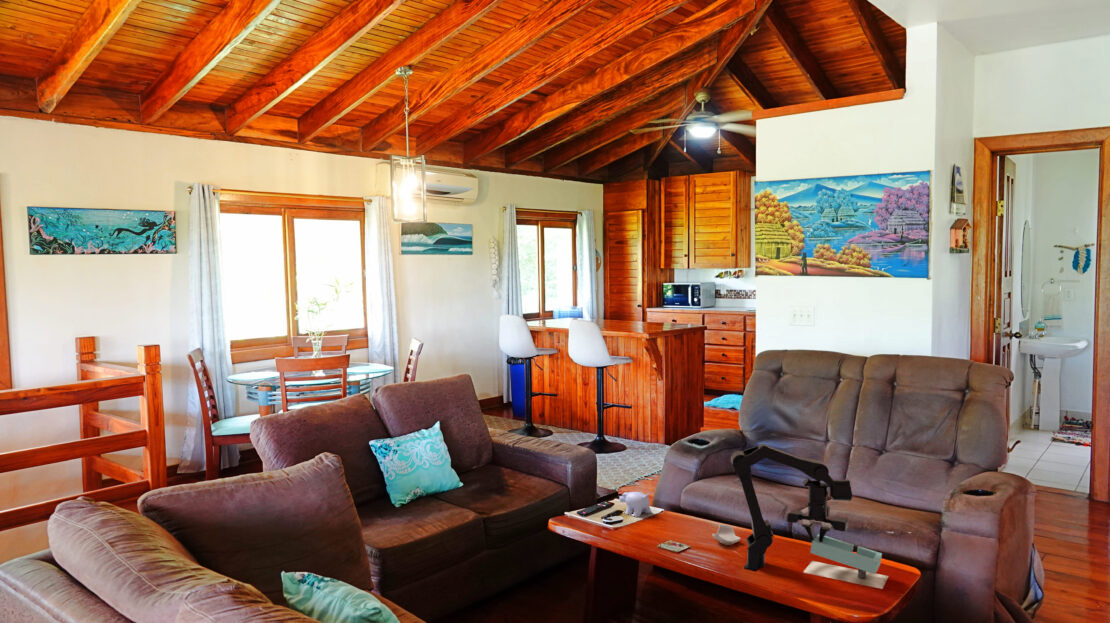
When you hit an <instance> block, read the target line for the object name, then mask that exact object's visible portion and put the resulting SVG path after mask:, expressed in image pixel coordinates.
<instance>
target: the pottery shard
mask: <svg viewBox="0 0 1110 623" xmlns="http://www.w3.org/2000/svg"><path fill="white" fill-rule="evenodd" d="M735 533H736V532H735V530H734V528H733V527H731V525H730V524H723V523H722V524H719V526H718V529H717V532H716V533H712V537H713V538H714V539H715V540H716V541H717V542H718V541H719V543H720V544H722V545H727V546H731V545H734V544H735V543H737V542H738V543H739V542H740V540H741V537H740V536H737V535H736V534H735Z"/></svg>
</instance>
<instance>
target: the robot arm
mask: <svg viewBox="0 0 1110 623" xmlns="http://www.w3.org/2000/svg"><path fill="white" fill-rule="evenodd" d="M764 459H768V460H771V461H774V462H776V463H779V464H782V465H784V466H788V467H790V468H793V469H796V470H798V471H800V472H801V473H803V474H805V475H806V476H807V478H805V479H804V480H803V481H802V484H803V486H804V487H808V503H807V512H808V513H807V514H808V515H806V514H804V512H803V511H801V510H796V509H791V510H790V511H789V512H788V513H787V514H786V522H788V523H793V524H796V523H798V522H799V521H802V524H801V527H802V528H804V529H805V531H806V533H807V534H808V537H809V540H810V542H811V543H812V541H813V540H814V539H815V537H816V536H815V523H816V524H821V527H820V528H819V533H818V534H819V542H821V543H822V542H823V539H824V537H825V536H826V534H827V532H831V530H832V529H833V530H834V531H839V532H846V531H847V530H848V528H849V523H850V522H849V520H848V519H847V518H844V517H840V516H839V517H838V516H836V517H834V518H833V519H832V518H831V519H830V516H831V515H830V513H831V506H829V505H828V497H829V498H831V500H832V501H844V502H845V501H846V502H847V501H848V502H851V501H852V499H853V491H852V486H851V481H850V479H846V478H845V479H833V477H832V476H831V475H829V474H830V473H829V472H830V470H829V467H828V466H827V465H826V464H825V463H824V462H823V461H822V460H819V459H814V458H811V457H810V458H807V457H800V456H797V455H795V454H791V453H788V452H786V451H783V450H781V449H777V448H775V447H772V446H771V445H770V446H769V445H767V444H766V443H760V444H759V445H756V446H753V447H750V448H747V449H744V450H736V451H734V452H733V453H732V454H731V456H730V462H731V464H732V468H733V469H734V471H735V474H736V475H737V477H738V479H739V480H740V483H741V484H740V485H741V487H742V492H743V494H744V498H745V501H746V505H747V507H748V512H749V515H750V520H751V529H752V530H751V531H752V533H751V534H750V535H748V537H747V538H745V541H746V544H747V550H746V551H747V552H746V553H747V555H746V556H747V558H746V559H747V560H746V561H747V562H746V563H745V565H744V566H743V569H747V570H751V571H756V572H757V571H759V570H760V569H762V568H764V567H765V566H766V552H767V550H768V548H770V547H771V545H772V544H773V541H774V540H773V538H774V537H775V535H774V534H773V531H772V526H771V524H770V521H769V519H766V520H765V519H764V517H763V514H762V510H761V509H760V508H761V507H760V504H759V501H758V498H757V497H758V496H757V494H756V491H755V487H754V483H753V481H752V469H751V468H752V466H754V465H756V464H757V463H759V462H760V461H762V460H764ZM810 478H812V479H813V480H812V479H810Z"/></svg>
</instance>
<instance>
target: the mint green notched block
mask: <svg viewBox="0 0 1110 623" xmlns="http://www.w3.org/2000/svg"><path fill="white" fill-rule="evenodd" d="M819 534H820V533H818V534H817V535H816V536H815V539H814V540H813V541H812V542H811V546H810V554H812V555H816V556H819V557H821V558H825V559H828V560H831V561H834V562H837V563H840V564H843V565H845V566H849V567H852V568H854V569H857V570H858V569H861V570H864V571H866V572H870V573H873V574H877V572H878V570H879V568H880V566H881V562H882V556H883V553H882V552H878V551H876V550H872V549H869V548H866V547H862V546H860V545H859V546H857V549H856V552H853V550H854V543H851V542H850V543H849V542H846V541H844V540H841V539H838V538H833V537H830V536H827V535H825V537H824V539H823V542H822V543H821V542H819Z"/></svg>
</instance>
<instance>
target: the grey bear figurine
mask: <svg viewBox="0 0 1110 623" xmlns="http://www.w3.org/2000/svg"><path fill="white" fill-rule="evenodd" d="M650 494H651V492H648V493H647V494H645V493H643V492H641V491H629V492H628V491H625V492H623V494H622V495H619V496H618V497H619V502H620V503H625V504H626V509H625V511H624V512H625V513H627V514H631V515H633V516H635V517H634V518H639V517H641V514H642V513H644V512H645V514H650V513H652V510H651V506H650V499H649V495H650ZM632 513H633V514H632ZM631 515H630V516H631ZM633 516H632V517H633Z"/></svg>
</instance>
